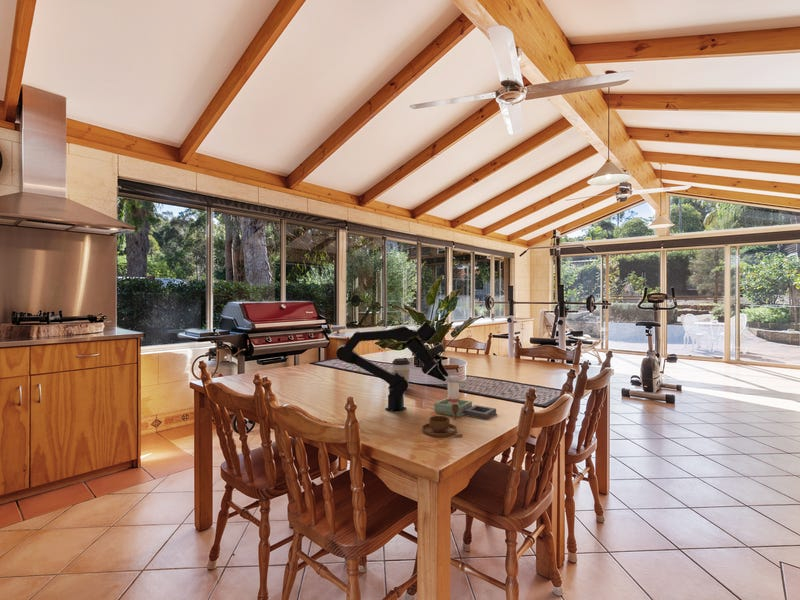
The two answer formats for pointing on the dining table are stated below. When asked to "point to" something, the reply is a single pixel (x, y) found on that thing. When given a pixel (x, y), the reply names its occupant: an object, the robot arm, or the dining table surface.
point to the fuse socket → (480, 412)
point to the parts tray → (447, 409)
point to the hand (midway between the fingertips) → (446, 378)
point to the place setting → (442, 425)
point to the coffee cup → (401, 367)
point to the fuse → (453, 390)
